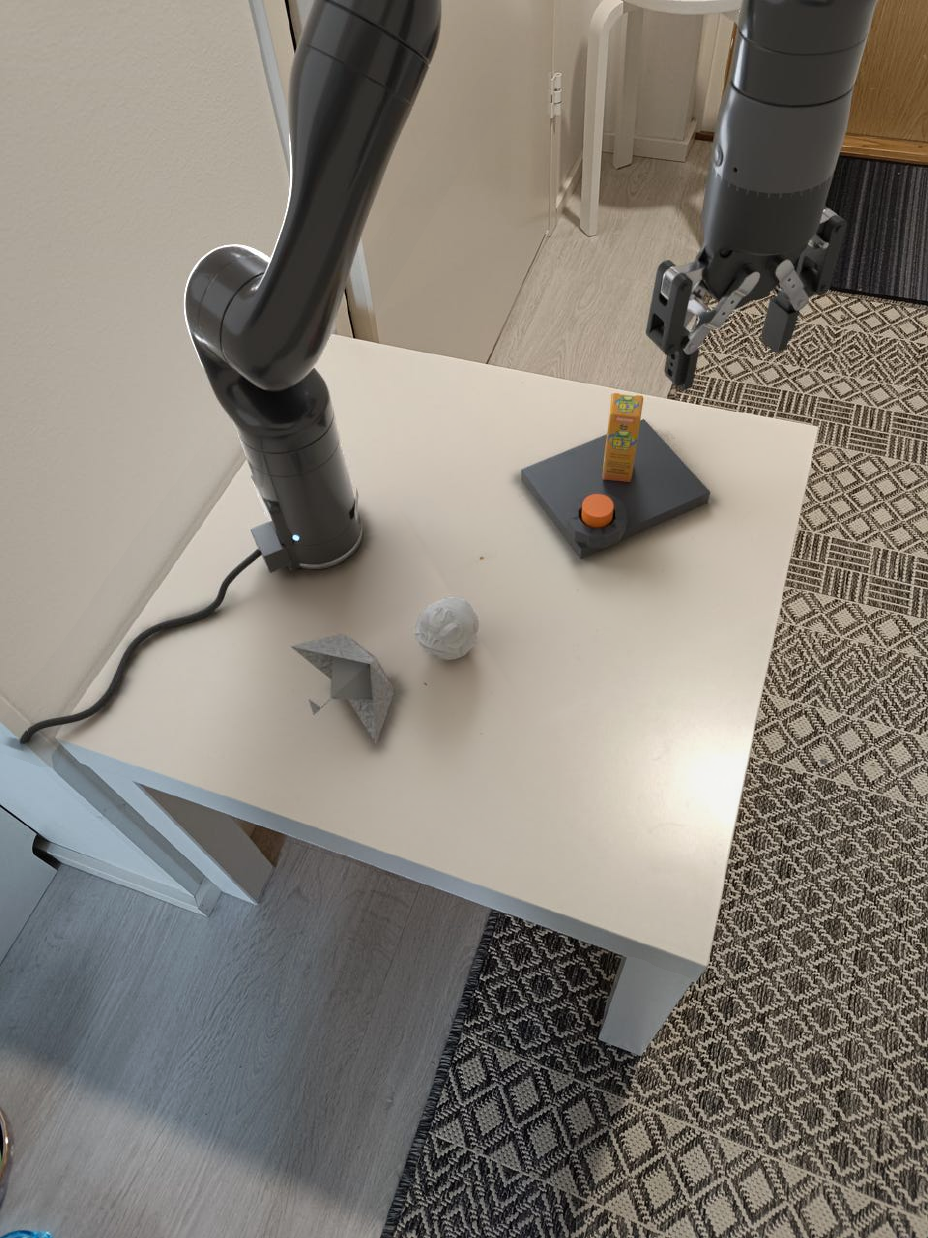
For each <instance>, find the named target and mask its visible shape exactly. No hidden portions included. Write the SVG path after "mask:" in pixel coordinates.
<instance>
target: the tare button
mask: <svg viewBox="0 0 928 1238" xmlns="http://www.w3.org/2000/svg"><path fill="white" fill-rule="evenodd" d="M613 508H614V505H613V502H612V500H611V499H610V498H609V497H607V496H606V495H603V494H592V495H589V496H588V497H586V498H585V499H584V501H583V503H582V514H581V517H582V520H583V522H584V523H585V524H586V525H587V526H589V527H592V528H602V527H605V526H607V525H608V524H610V522H611V521H612V517H613Z"/></svg>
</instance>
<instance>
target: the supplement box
mask: <svg viewBox="0 0 928 1238" xmlns="http://www.w3.org/2000/svg"><path fill="white" fill-rule="evenodd" d="M609 403H610V404H609V413H608V423H607V433H606V434H607V439H606V448H605V457H604V466H603V479H604V480H613V481H623V482H631V478H632V472H633V466H634V459H635V453H636V446H637V439H638V433H639V426H640V420H642V419H641V418H642V411H643V405H644V397H643V394H642V395H640V394H639V395H638V394H636V395H629V394H622V393H618V392H613V393H611V394H610V402H609Z"/></svg>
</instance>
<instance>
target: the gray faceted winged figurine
mask: <svg viewBox="0 0 928 1238" xmlns="http://www.w3.org/2000/svg"><path fill="white" fill-rule="evenodd" d="M290 648H291V649H293V650H294V651H295V652H297V653H298V654H299V655H300V656H301V657H302V658H304V659H305V660H306V661H307V662H308V663H310V664H311V665H312V666H314V667H315V668H316V669H317V670H318V671H319V672H321V673H322V674H323V675H324V676H326V677H327V678H328V679H329V680H331V681H330V698H328V699H327V701H325V703H323V704H322V705H321V706H320V705H319V704H317V703H316V702H314V701H313V700H312V699H310V698H309V699H308V701H309V705H310V708H311V712H312V714H313V716H315V715H316V714H318V712H320V711H321V710H322V709H323V708H324V707H325V706H326V705H327V704H328V703H329V702H330V701H331V700H347V701H348V702H349V704H350V705H351V707H352V708H353V710H354V712H355V713H356V714H357V716H358V717H359V719H360V721H361V722H362V724H363V725H364V727H365V728H366V730H367V731H368V733H369V735H370V737H372V739H373V741H374V743H375V744H377V743H378V741H379V738H380V736H381V732H382V730H383V727H384V724H385V721H386V717H387V715H388V712H389V710H390V707H391V704H392V701H393V698H394V696H395V689H394V688H393V687H394V686H393V685H392V683H391V681H390V679H389V677H388V675H387V674H386V673H385V671H384V669H383V668H382V666H381V663H380V662H379V661H378V659H377V658H376V656H375V655H373V654H372V653H371V652H370V651H369V650H367V649H365V648H364V646H362V645H360V643H358V642H356V641H355V640H354V639H353V638H351V637H349V636H348V635H346V634H344V633H342V632H339V633H337V634H332V635H329V636H326V637H321V638H317V639H314V640H313V639H312V640H310V641H305V642H303V643H298V644H294V645H290Z"/></svg>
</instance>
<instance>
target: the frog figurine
mask: <svg viewBox="0 0 928 1238" xmlns="http://www.w3.org/2000/svg"><path fill="white" fill-rule="evenodd" d="M479 628H480V624H479V618H478V616H477V614H476V612H475V611H474V608H473V607H472V605H471V603H469V602H468V601H467V600H466V599H464V598H461V597H457V596H448V597H444V598H442V599H439V600H437V601H435V602H432V603H430V604H428V605H427V606H426V607H425V608H424V610H423V611H422V613H420V614H419V616H418V617H417V619H416V620H415V624H414V628H413V629H414V633H413V638H414V640H416V641H417V642H418V644H419V645H420V646H421V647H422V649H423V650H424V651H425V652H427V653H430V654H432V655H433V656H435V657H437V658H439V659H442V660H445V661H446V660H447V661H450V660H451V661H452V660H456V659H460V658H461V657H464V656H466V654H468V653H469V651H470V650H471V649H472V648H473V647H474V646H475V645H476V642H477V633H478V632H479Z"/></svg>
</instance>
